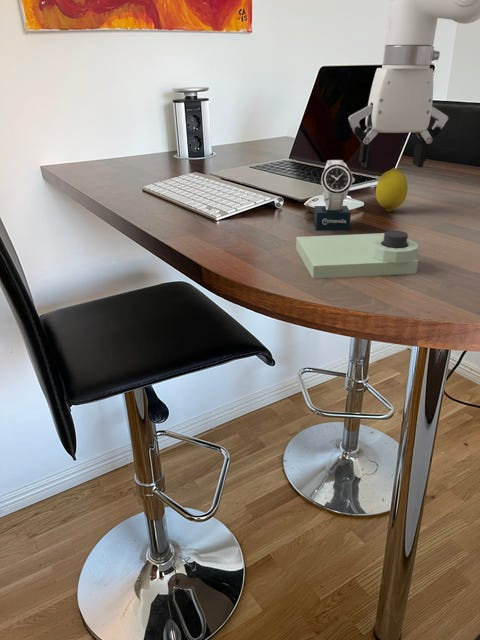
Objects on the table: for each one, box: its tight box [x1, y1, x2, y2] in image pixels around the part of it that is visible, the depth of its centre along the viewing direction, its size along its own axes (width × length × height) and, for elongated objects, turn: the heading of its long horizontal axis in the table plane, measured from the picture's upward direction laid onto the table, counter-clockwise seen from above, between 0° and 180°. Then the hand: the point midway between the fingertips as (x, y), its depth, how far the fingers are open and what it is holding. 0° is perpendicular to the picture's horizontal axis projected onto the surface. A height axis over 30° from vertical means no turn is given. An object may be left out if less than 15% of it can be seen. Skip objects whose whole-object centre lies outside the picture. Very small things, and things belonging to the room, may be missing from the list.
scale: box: [295, 232, 419, 280], centre depth 70 cm, size 14×12×4 cm
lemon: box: [375, 167, 409, 213], centre depth 91 cm, size 6×6×8 cm
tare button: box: [383, 230, 409, 248], centre depth 66 cm, size 3×3×2 cm
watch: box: [313, 159, 356, 232], centre depth 83 cm, size 6×8×11 cm
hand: (391, 166), depth 90 cm, fingers open, 9 cm apart
